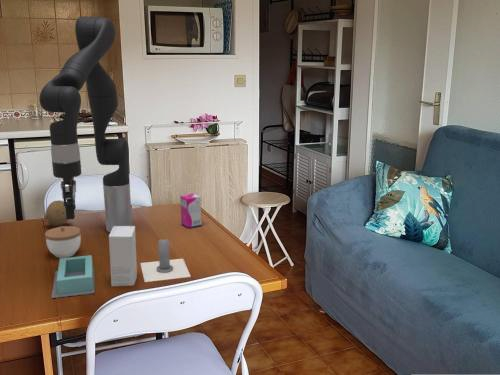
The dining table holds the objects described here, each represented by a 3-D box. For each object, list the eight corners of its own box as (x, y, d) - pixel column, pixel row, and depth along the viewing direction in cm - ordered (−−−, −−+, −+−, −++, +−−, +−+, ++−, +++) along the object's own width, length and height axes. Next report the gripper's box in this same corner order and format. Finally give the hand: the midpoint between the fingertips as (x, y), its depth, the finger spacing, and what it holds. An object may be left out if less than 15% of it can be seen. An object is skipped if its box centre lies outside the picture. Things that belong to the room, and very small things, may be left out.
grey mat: (55, 272, 156) (55, 270, 156) (97, 267, 159) (97, 266, 159) (51, 299, 140) (51, 297, 139) (98, 293, 143) (98, 291, 143)
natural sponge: (77, 226, 196) (75, 200, 194) (55, 232, 190) (52, 205, 187) (64, 221, 202) (62, 196, 199) (42, 227, 196) (39, 201, 193)
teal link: (61, 271, 156) (59, 258, 155) (92, 267, 158) (91, 255, 157) (58, 294, 141) (56, 280, 140) (93, 290, 144) (91, 276, 143)
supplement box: (194, 221, 201) (194, 192, 198) (201, 226, 196) (201, 196, 194) (180, 224, 198) (179, 195, 195) (187, 229, 194) (186, 198, 191)
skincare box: (115, 276, 153) (112, 225, 149) (139, 275, 154) (136, 225, 150) (111, 289, 145) (107, 235, 141) (135, 288, 146) (132, 235, 142)
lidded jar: (89, 250, 173) (87, 223, 171) (68, 262, 163) (65, 234, 161) (61, 246, 176) (59, 219, 174) (39, 258, 167) (36, 230, 164)
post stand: (140, 265, 161) (138, 235, 158) (183, 260, 164) (182, 231, 162) (144, 284, 148) (143, 251, 145) (190, 279, 151) (189, 247, 149)
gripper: (53, 154, 153) (58, 208, 157) (49, 165, 140) (55, 223, 144) (80, 153, 155) (85, 206, 159) (79, 163, 142) (84, 221, 146)
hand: (71, 214), depth 152 cm, fingers open, 8 cm apart
